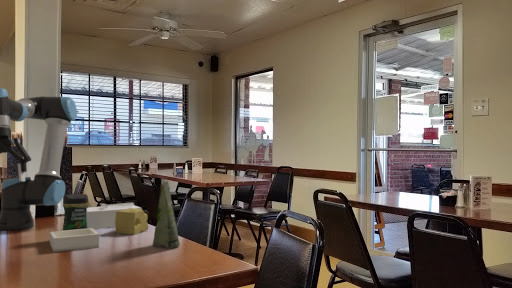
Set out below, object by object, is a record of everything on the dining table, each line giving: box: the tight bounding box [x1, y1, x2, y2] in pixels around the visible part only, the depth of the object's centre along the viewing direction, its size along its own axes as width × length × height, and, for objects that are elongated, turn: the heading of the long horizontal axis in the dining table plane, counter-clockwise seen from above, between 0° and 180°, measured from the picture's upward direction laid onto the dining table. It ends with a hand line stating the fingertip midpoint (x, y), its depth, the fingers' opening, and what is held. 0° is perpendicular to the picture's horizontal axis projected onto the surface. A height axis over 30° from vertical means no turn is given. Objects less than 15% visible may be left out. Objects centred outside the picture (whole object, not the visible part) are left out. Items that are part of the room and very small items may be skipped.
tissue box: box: [86, 202, 143, 230], centre depth 199 cm, size 14×25×11 cm, turn 125°
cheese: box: [114, 208, 149, 235], centre depth 183 cm, size 10×11×10 cm
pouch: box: [151, 180, 180, 249], centre depth 157 cm, size 11×12×25 cm
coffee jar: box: [61, 193, 90, 231], centre depth 167 cm, size 10×8×19 cm
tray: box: [49, 228, 100, 253], centre depth 155 cm, size 13×15×5 cm
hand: (3, 184), depth 149 cm, fingers open, 13 cm apart
